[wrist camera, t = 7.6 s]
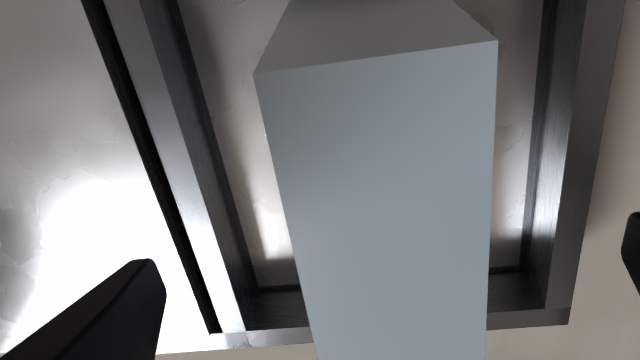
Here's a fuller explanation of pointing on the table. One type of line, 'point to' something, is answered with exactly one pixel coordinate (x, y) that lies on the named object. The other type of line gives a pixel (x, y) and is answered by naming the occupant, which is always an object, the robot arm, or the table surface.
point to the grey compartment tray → (255, 162)
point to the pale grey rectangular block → (385, 172)
